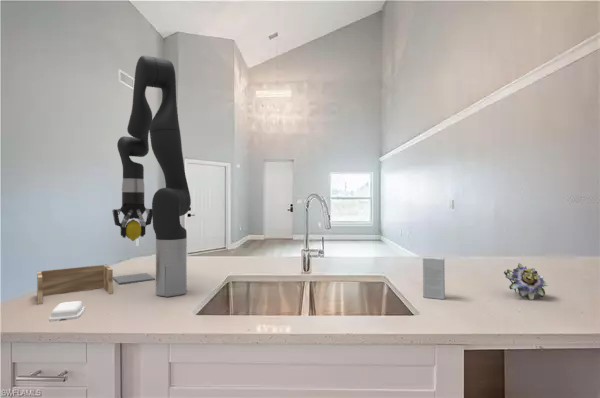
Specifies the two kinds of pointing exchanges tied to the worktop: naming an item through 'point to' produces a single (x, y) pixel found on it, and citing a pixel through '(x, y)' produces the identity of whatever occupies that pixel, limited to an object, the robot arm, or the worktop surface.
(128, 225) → the lemon
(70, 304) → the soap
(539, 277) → the passion flower
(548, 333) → the worktop surface
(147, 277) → the slate coaster
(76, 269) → the open u-shaped oak frame
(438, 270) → the skincare box
